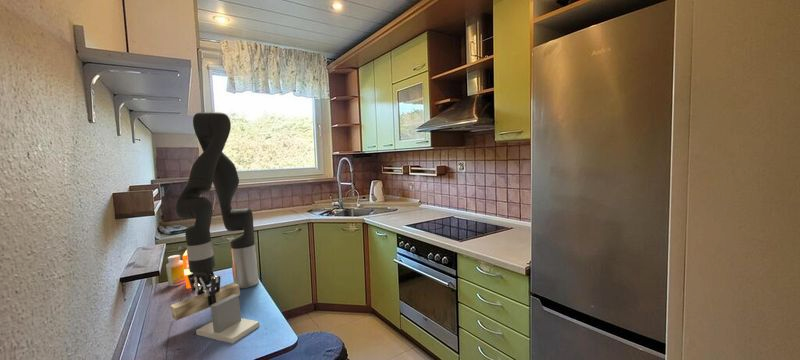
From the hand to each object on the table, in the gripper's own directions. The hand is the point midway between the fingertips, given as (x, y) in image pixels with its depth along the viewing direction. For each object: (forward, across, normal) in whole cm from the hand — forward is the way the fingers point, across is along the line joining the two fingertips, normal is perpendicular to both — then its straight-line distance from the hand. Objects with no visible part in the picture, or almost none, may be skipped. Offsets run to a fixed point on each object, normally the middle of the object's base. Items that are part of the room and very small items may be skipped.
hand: (207, 303), depth 112 cm
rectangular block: (+1, 0, 0) cm, 1 cm away
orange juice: (+7, +38, -21) cm, 44 cm away
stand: (+5, -14, +3) cm, 15 cm away
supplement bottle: (+7, +48, -18) cm, 51 cm away
